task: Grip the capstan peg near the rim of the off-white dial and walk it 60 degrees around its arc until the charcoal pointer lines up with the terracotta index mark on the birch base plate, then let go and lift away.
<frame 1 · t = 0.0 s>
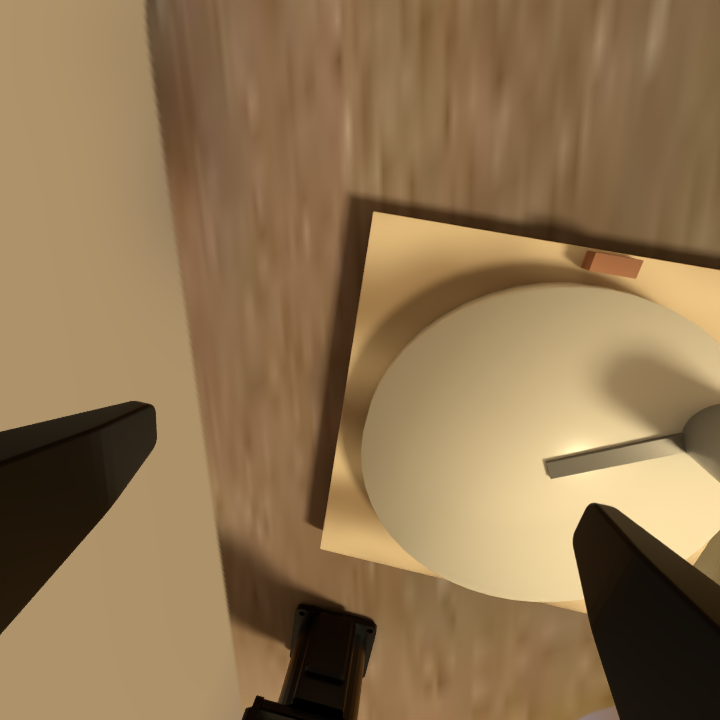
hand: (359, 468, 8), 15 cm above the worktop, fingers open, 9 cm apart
dial: (553, 492, 19), point 5 cm above the worktop, hinge at -60.0°
base plate: (526, 437, 23), on the worktop
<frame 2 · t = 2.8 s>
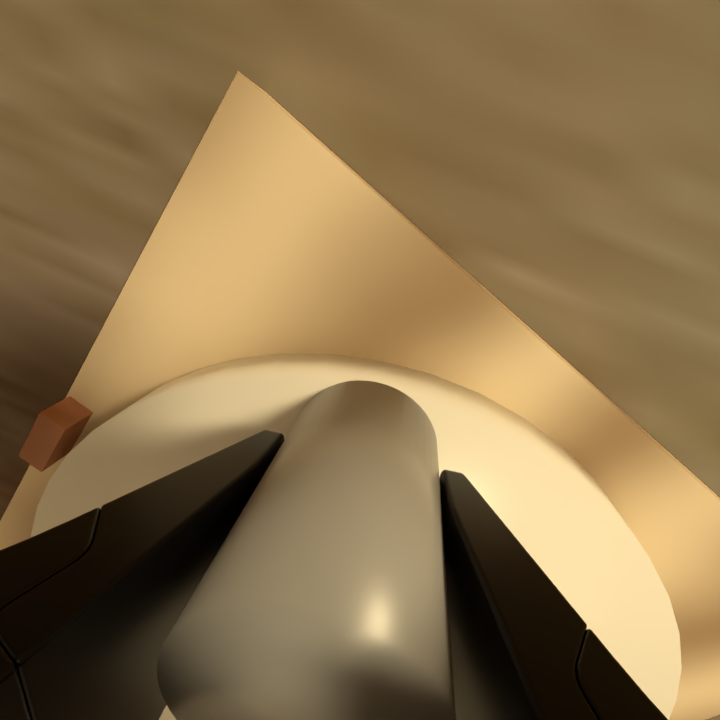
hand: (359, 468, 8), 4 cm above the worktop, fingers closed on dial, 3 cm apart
base plate: (341, 574, 15), on the worktop
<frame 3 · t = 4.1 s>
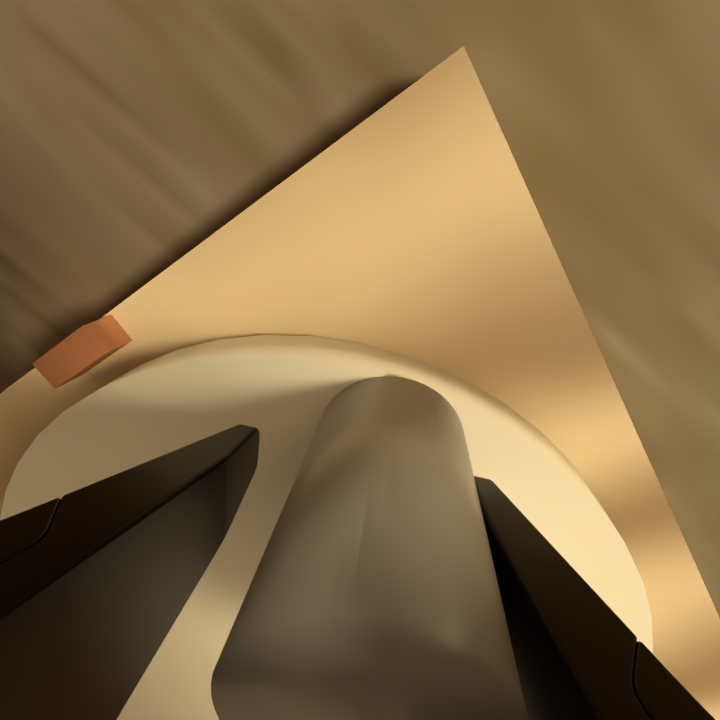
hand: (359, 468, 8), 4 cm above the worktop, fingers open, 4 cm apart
base plate: (322, 561, 15), on the worktop
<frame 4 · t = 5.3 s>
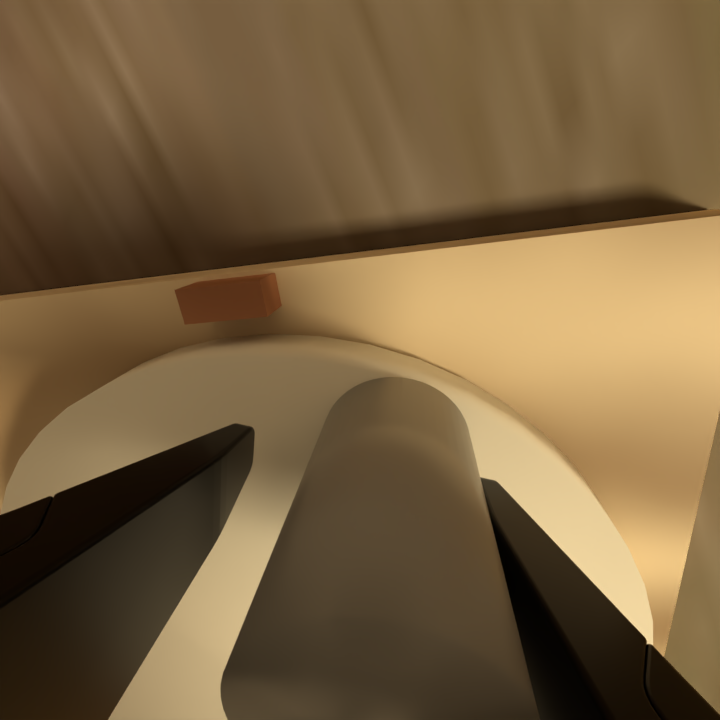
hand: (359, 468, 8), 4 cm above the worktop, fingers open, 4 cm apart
base plate: (322, 561, 15), on the worktop
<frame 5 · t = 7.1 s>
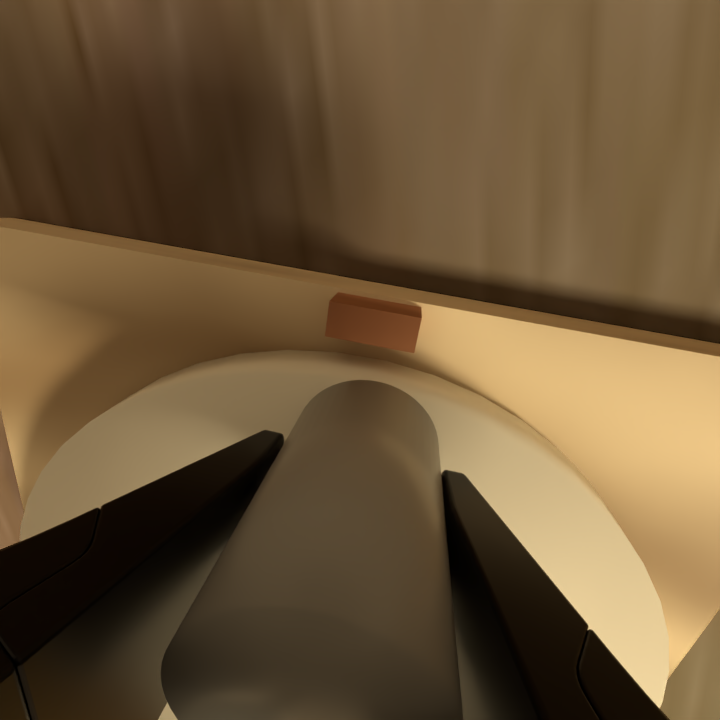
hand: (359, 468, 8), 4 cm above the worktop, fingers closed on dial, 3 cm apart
base plate: (334, 572, 15), on the worktop
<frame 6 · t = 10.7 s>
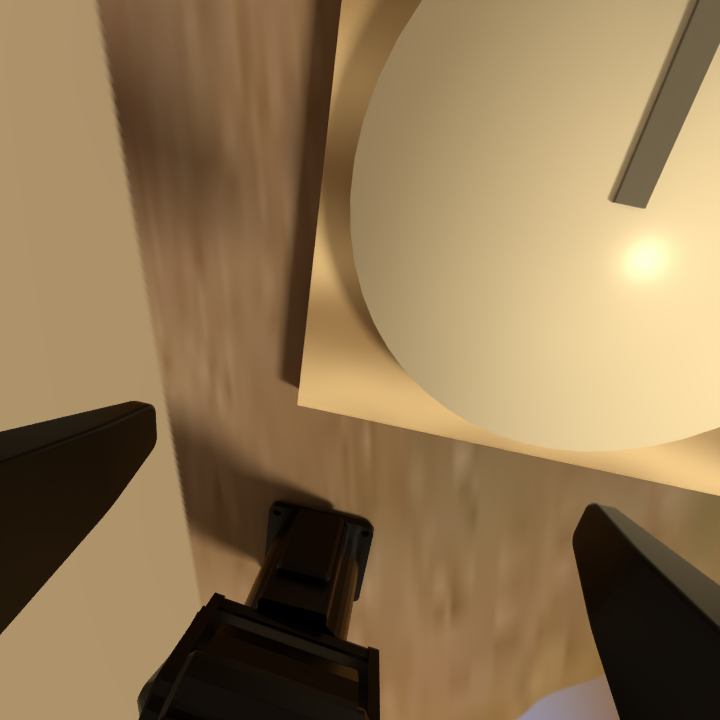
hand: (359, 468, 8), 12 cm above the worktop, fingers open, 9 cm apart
dial: (652, 213, 12), point 5 cm above the worktop, hinge at -2.4°
base plate: (586, 214, 16), on the worktop
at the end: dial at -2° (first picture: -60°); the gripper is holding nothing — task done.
